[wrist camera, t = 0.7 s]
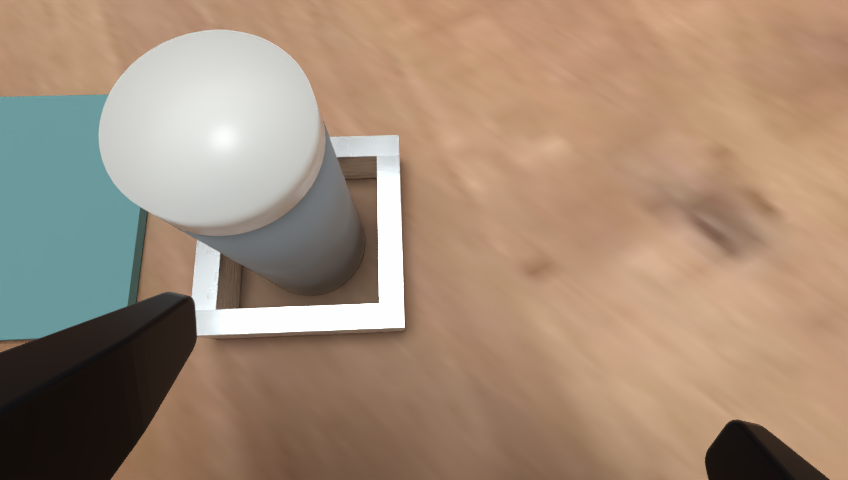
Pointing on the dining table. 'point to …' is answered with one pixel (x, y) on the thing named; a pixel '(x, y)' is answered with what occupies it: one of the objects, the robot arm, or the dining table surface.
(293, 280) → the ball
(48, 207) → the mat
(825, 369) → the dining table surface
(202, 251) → the collar
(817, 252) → the dining table surface
